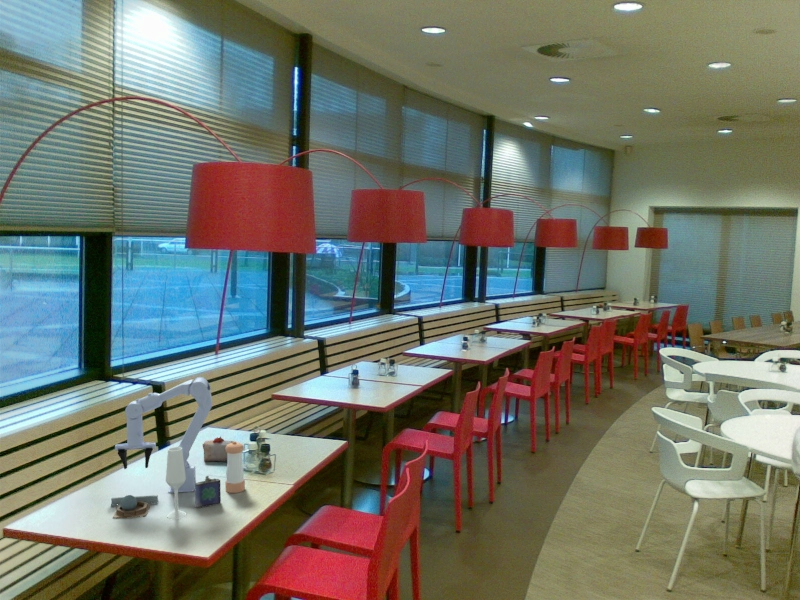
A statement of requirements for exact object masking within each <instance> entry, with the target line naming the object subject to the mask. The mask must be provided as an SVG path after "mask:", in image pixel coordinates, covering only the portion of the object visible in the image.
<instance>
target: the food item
mask: <svg viewBox="0 0 800 600" xmlns="http://www.w3.org/2000/svg"><path fill="white" fill-rule="evenodd" d="M233 441H234V440H224V438H222V436H220V437H215V438H214V439H213V440H205V441H204V443H202V449H203V460H204V462H225V463H226V462H227V452H226V450H225V447H226V446H227V445H228V444H230V443H232V442H233Z"/></svg>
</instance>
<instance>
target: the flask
mask: <svg viewBox="0 0 800 600" xmlns="http://www.w3.org/2000/svg"><path fill="white" fill-rule="evenodd" d="M221 494H222V493H221V480H220V479H219V478H210V477H209V475H206V476H205V479H204V480H203V481H198V482H196V484H195V489H194V495H195V496H194V498H195V499H194V500H195V502H194V503H195V504H194V506H195V508H196V509H198V508H199V509H201V508H207V507H210V506H216V505H221V501H222V500H221Z"/></svg>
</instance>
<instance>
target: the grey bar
mask: <svg viewBox="0 0 800 600" xmlns="http://www.w3.org/2000/svg"><path fill="white" fill-rule="evenodd" d="M124 497H125V496H120V497H112V498H111V503H110V507H111V506H112V507H116V506H118V505H120V504H121V500H122V499H123V498H124ZM134 497H135V498H136V499H137V501H143V502H146V503H148V504H151V505H156V504H157V505H158V503H157V502H159V495H157V494H155V495H139V496H137V495H136V496H134ZM116 504H118V505H116Z"/></svg>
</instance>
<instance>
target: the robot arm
mask: <svg viewBox="0 0 800 600" xmlns="http://www.w3.org/2000/svg"><path fill="white" fill-rule="evenodd" d="M211 389H212V387H211V385H210V383H209V381H208V380H207V379H206V378H205V377H202V376H198V377H196V378H194V379H189V380H187V381H184V382H182V383H180V384H177V385H175V386H174V387H171V388H170V389H167V390H165V391H163V392H161V393H158V392H153V393H152V392H148V394H147V395H145V396H144V397H141V398H139V397H138V398H136V399H135V400H132V401H131V402H129V403H128V404H127V406H126V407H125V410H124V414H125V416H126V439H127V440H126V442H127V443H126V442H125V443H118V444H115V446H114V450H115V451H117V455H118V456H119V459H120V460H121V463H122V465H123V468H124V470H127V468H128V457H127V455H128V450H132V451H133V450H144V459H145V460H144V461H145V462H144V464H145V465H144V467H145V469H147V468H149V463H150V458H151V455H152V453H153V450H156V449H157V443H156V442H148V441H147V442H145V441H144V421H143V414H146V413H148V412H150V411H154V410H155V409H157V408H160V407H162V405H163V402H166V401H168V400H170V399H173V398H175V397H178V396H180V395H183V396H187V397H189V396H190V395H191V396H192V398H194V399H195V401H196V403H197V404H198V407H197V410H195V414H194V415H193V417H192V419H191V421H190V423H189V425H188V427H187V429H186V431H185V433H184V434H183V437H182V439H181V441H180V443H179V444H178V446H177V447H181V448H182V451H183V459H184V467H185V476H186V480H185V482H184V483H183V485H182V486H181V487H180V488H178V493H190V492H195V484H196V483H197V477H196V466H195V465H191V464H190V463H189V461H188V459H189V456H190V451H191V449H192V447H193V445H194V443H195V440H196V439H197V436H198V435H199V433H200V431H201V429H202V426H204V424H205V421H206V419H207V417H208V415H209V413H210V411H211V409H212V407H213V398H212V390H211ZM167 493H170V494H172V493H174V489H173V488H172V487H170V486H169V489H168V492H167Z"/></svg>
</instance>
